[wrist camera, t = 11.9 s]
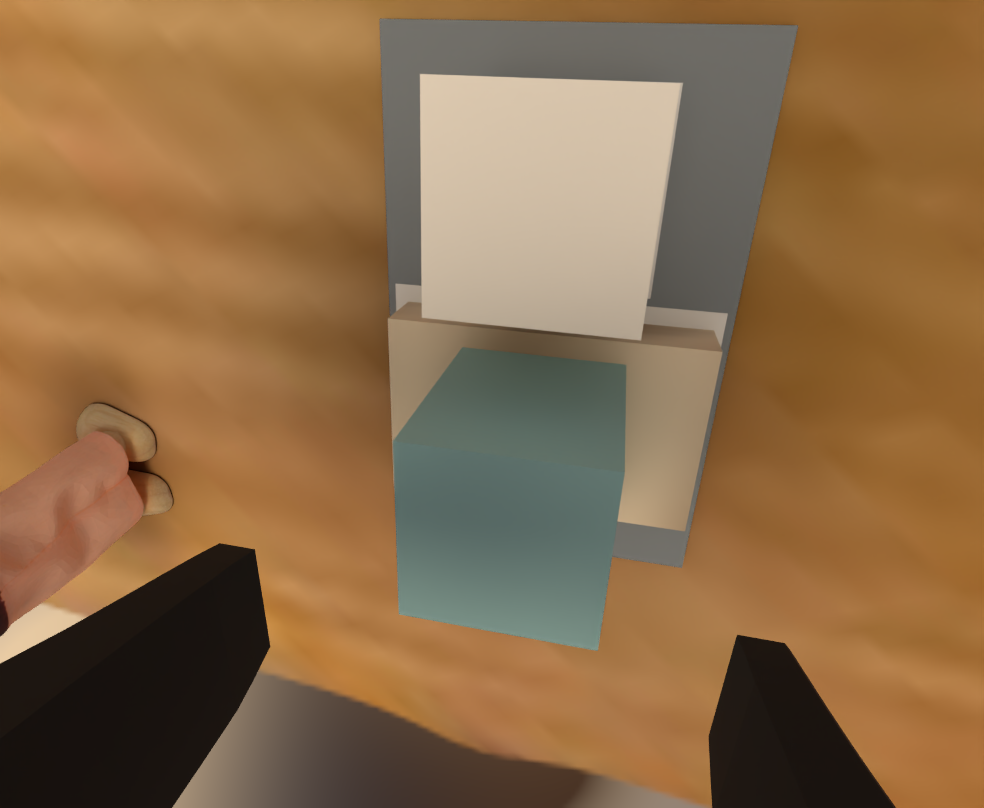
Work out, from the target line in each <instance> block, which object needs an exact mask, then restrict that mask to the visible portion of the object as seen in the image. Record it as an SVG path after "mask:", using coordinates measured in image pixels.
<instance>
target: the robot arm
mask: <svg viewBox="0 0 984 808" xmlns="http://www.w3.org/2000/svg"><path fill="white" fill-rule="evenodd" d="M269 648H270V642H269V636H268V629H267V623H266V617H265V611H264V604H263V598H262V592H261V586H260V579H259V573H258V567H257V560H256V554H255V549H249V548H243V547H238V546H232V545H226V544H221V543H219V544H217V545H216V546H214V547H212V548H210V549H208V550H206V551H204V552H202V553H200V554H198V555H196V556H195V557H193V558H191V559H189V560H187V561H185V562H184V563H182V564H180V565H178V566H177V567H175V568H173V569H171V570H169V571H168V572H166V573H164V574H162V575H161V576H159V577H157V578H155V579H154V580H152V581H150V582H148V583H147V584H145V585H143V586H142V587H140V588H138V589H136V590H135V591H133V592H131V593H129V594H127V595H126V596H124V597H122V598H120V599H119V600H117V601H115V602H113V603H112V604H110V605H108V606H106V607H104V608H103V609H101V610H99V611H97V612H96V613H94V614H92V615H90V616H88V617H87V618H85V619H83V620H81V621H80V622H78V623H76V624H74V625H72V626H71V627H69V628H67V629H66V630H63V631H62V632H60V633H58V634H56V635H54V636H52V637H50V638H48V639H46V640H45V641H43V642H41V643H39V644H37V645H35V646H33V647H31V648H29V649H27V650H25V651H23V652H21V653H20V654H18V655H16V656H14V657H12V658H10V659H8V660H6V661H4V662H3V663H1V664H0V808H172V807H173V805H174V804H175V803H176V801H177V800H178V798H179V797H180V795H181V793H182V792H183V791H184V789H185V788H186V786H187V785H188V783H189V782H190V780H191V779H192V777H193V776H194V774H195V773H196V772H197V770H198V768H199V767H200V766H201V764H202V763H203V761H204V760H205V758H206V757H207V755H208V754H209V752H210V751H211V749H212V748H213V746H214V745H215V743H216V742H217V740H218V739H219V737H220V736H221V734H222V733H223V731H224V730H225V728H226V727H227V725H228V724H229V722H230V721H231V719H232V717H233V716H234V714H235V713H236V711H237V710H238V708H239V706H240V704H241V702H242V701H243V699H244V697H245V695H246V693H247V691H248V689H249V687H250V685H251V684H252V682H253V680H254V678H255V676H256V674H257V672H258V670H259V668H260V666H261V664H262V662H263V660H264V658H265V656H266V654H267V652H268V650H269ZM709 753H710V775H711V793H712V808H896V807H895V806H894V804H893V803H892V802H891V800H890V799H889V797H888V796H887V795H886V793H885V792H884V790H883V789H882V787H881V786H880V785H879V783H878V782H877V780H876V779H875V778H874V776H873V775H872V773H871V772H870V771H869V769H868V768H867V766H866V765H865V763H864V762H863V760H862V759H861V757H860V756H859V754H858V753H857V752H856V750H855V749H854V747H853V746H852V744H851V743H850V741H849V740H848V738H847V737H846V735H845V734H844V732H843V731H842V729H841V728H840V726H839V725H838V723H837V722H836V720H835V719H834V717H833V716H832V714H831V713H830V711H829V710H828V708H827V706H826V705H825V703H824V702H823V700H822V699H821V697H820V696H819V694H818V693H817V691H816V689H815V688H814V686H813V685H812V683H811V682H810V680H809V679H808V677H807V675H806V674H805V672H804V671H803V669H802V668H801V666H800V665H799V663H798V661H797V660H796V658H795V657H794V655H793V654H792V652H791V651H790V649H789V648H788V647H787V646H786V644H785V643H780V642H775V641H769V640H764V639H758V638H752V637H747V636H741V635H737V637H736V641H735V644H734V648H733V652H732V655H731V659H730V662H729V666H728V669H727V673H726V676H725V680H724V684H723V687H722V691H721V694H720V698H719V701H718V705H717V709H716V712H715V716H714V719H713V723H712V726H711V730H710V734H709Z"/></svg>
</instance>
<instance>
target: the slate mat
mask: <svg viewBox="0 0 984 808" xmlns="http://www.w3.org/2000/svg"><path fill="white" fill-rule="evenodd" d="M797 29H798V25H739V24H677V23H615V22H553V21H490V20H428V19H380V45H381V75H382V104H383V133H384V162H385V191H386V220H387V249H388V278H389V307H390V316H391V315H393V314H394V313H395V312H396V311H398V310H399V309H400V308H401V307H402V306H404V305H405V304H406V303H407V302H418V303H422V287H421V148H420V74H436V75H464V76H491V77H519V78H546V79H574V80H601V81H629V82H656V83H680V90H679V96H678V103H677V109H676V116H675V122H674V129H673V135H672V142H671V148H670V155H669V161H668V168H667V174H666V181H665V187H664V194H663V200H662V207H661V213H660V220H659V226H658V233H657V239H656V246H655V252H654V259H653V265H652V272H651V279H650V285H649V292H648V298H647V305H646V311H645V318H644V324H651V325H661V326H672V327H682V328H693V329H703V330H714V332H715V334H716V337H717V339H718V342H719V344H720V347H721V349H722V357H721V362H720V367H719V371H718V376H717V381H716V386H715V390H714V395H713V400H712V405H711V410H710V414H709V419H708V424H707V429H706V433H705V438H704V443H703V448H702V453H701V457H700V462H699V467H698V472H697V476H696V481H695V486H694V491H693V496H692V500H691V505H690V510H689V515H688V519H687V524H686V529H685V531H679V530H672V529H665V528H658V527H652V526H645V525H638V524H631V523H625V522H618V521H617V527H616V534H615V540H614V547H613V553H612V557H617V558H623V559H630V560H636V561H642V562H648V563H655V564H661V565H667V566H674V567H680V568H682V565H683V560H684V556H685V551H686V546H687V542H688V537H689V532H690V528H691V523H692V518H693V514H694V509H695V504H696V500H697V495H698V490H699V486H700V481H701V476H702V472H703V467H704V463H705V458H706V453H707V449H708V444H709V439H710V435H711V430H712V425H713V421H714V416H715V411H716V407H717V402H718V397H719V393H720V388H721V383H722V379H723V374H724V369H725V365H726V360H727V355H728V351H729V346H730V341H731V337H732V332H733V327H734V323H735V318H736V313H737V309H738V304H739V299H740V295H741V290H742V285H743V281H744V276H745V271H746V267H747V262H748V257H749V253H750V248H751V243H752V239H753V234H754V229H755V225H756V220H757V215H758V211H759V206H760V201H761V197H762V192H763V187H764V183H765V178H766V173H767V169H768V164H769V159H770V155H771V150H772V145H773V141H774V136H775V131H776V127H777V122H778V117H779V113H780V108H781V103H782V99H783V94H784V89H785V85H786V80H787V76H788V71H789V66H790V62H791V57H792V52H793V48H794V43H795V38H796V34H797Z"/></svg>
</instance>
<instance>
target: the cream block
mask: <svg viewBox="0 0 984 808" xmlns="http://www.w3.org/2000/svg"><path fill="white" fill-rule="evenodd" d="M679 90H680V83H656V82H629V81H601V80H574V79H546V78H519V77H491V76H464V75H436V74H420V148H421V287H422V318H429V319H439V320H448V321H458V322H468V323H477V324H487V325H496V326H506V327H516V328H525V329H535V330H545V331H554V332H564V333H574V334H583V335H593V336H602V337H612V338H622V339H631V340H641V337H642V331H643V324H644V318H645V311H646V305H647V298H648V292H649V285H650V279H651V272H652V265H653V259H654V252H655V246H656V239H657V233H658V226H659V220H660V213H661V207H662V200H663V194H664V187H665V181H666V174H667V168H668V161H669V155H670V148H671V142H672V135H673V129H674V122H675V116H676V109H677V103H678V96H679Z"/></svg>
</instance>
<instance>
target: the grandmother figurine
mask: <svg viewBox="0 0 984 808" xmlns="http://www.w3.org/2000/svg"><path fill="white" fill-rule="evenodd" d="M76 434H77V438H78V440H79V441H77V442H76V443H74V444H72V445H71V446H69V447H68V448H66V449H65V450H63V451H62V452H60V453H59V454H58V455H56V456H55V457H53V458H52V459H50V460H49V461H48V462H46V463H45V464H44V465H42V466H41V467H39V468H38V469H36V470H35V471H34V472H32V473H30V474H29V475H27V476H26V477H24V478H23V479H21V480H20V481H18V482H17V483H15V484H14V485H12V486H11V487H9V488H7V489H6V490H4V491H2V492H1V493H0V636H2V635H3V634H4V633H5V632H6V631H7V629H8V628H9V626H10V625H11V624H12V623H13V622H14V621H16V620H17V619H19V618H20V617H22V616H23V615H24V614H26V613H27V612H29V611H30V610H32V609H33V608H35V607H36V606H38V605H39V604H41V603H42V602H43V601H45V600H46V599H48V598H49V597H50V596H52V595H53V594H54V593H56V592H57V591H58V590H60V589H61V588H62V587H63V586H65V585H66V584H67V583H68V582H69V581H71V580H72V579H74V578H75V577H76V576H78V575H79V574H80V573H82V572H83V571H84V570H85V569H87V568H88V567H89V566H90V565H91V564H92V563H93V562H94V561H95V560H96V559H97V558H98V557H99V556H100V555H101V554H102V553H104V552H105V551H106V550H107V549H108V548H109V547H110V546H111V545H112V544H113V543H114V542H115V541H117V540H118V539H119V538H120V537H121V536H122V535H123V534H124V533H126V532H127V531H128V530H129V529H130V528H131V527H133V526H134V525H135V524H136V523H137V522H138V521H139V519H140V518H141V516H144V515H153V514H159V513H163V512H166V511H168V510H169V509H170V508H171V506H172V504H173V498H172V495H171V492H170V489H169V487H168V485H167V484H166V483H165V482H164V481H163V480H162V479H160V478H159V477H158V476H156V475H153V474H149V473H144V472H139V471H133V470H128V467H129V462H128V461H133V462H141V461H146V460H149V459H151V458H152V457H153V456H154V454H155V451H156V443H155V437H154V434H153V433H152V431H151V430H150V428H149V427H148V426H147V425H145V424H144V423H142V422H141V421H139V420H137V419H135V418H133V417H131V416H129V415H127V414H125V413H122V412H121V411H119V410H117V409H114V408H112V407H110V406H108V405H105V404H91V405H89V406H88V407H86V408H85V409H84V411H83V412H82V413H81V414H80V416H79V418H78V421H77V426H76Z"/></svg>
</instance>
